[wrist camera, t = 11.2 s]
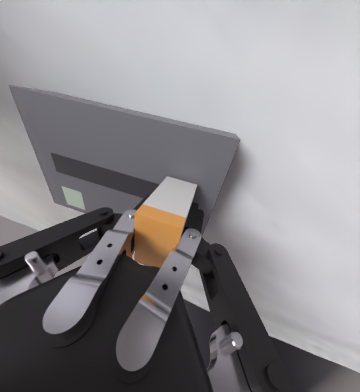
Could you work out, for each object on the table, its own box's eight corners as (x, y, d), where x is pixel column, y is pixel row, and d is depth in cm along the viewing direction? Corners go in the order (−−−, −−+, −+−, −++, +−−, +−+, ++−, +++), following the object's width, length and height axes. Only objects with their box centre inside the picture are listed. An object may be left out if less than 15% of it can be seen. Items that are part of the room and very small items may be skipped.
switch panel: (78, 190, 24) (54, 202, 20) (52, 91, 16) (7, 85, 13) (199, 229, 21) (195, 251, 18) (235, 134, 14) (240, 139, 10)
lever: (161, 215, 16) (134, 260, 11) (167, 176, 13) (134, 213, 8) (186, 222, 15) (170, 274, 10) (197, 184, 13) (182, 228, 8)
